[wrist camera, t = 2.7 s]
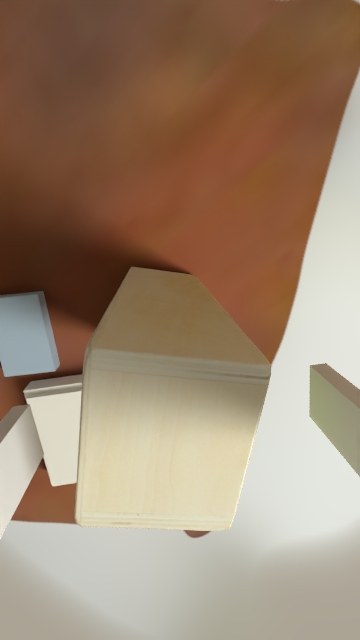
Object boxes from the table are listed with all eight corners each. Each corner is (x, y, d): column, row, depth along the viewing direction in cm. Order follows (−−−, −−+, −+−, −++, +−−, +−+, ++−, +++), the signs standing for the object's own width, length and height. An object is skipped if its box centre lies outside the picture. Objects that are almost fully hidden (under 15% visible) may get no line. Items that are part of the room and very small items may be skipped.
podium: (30, 381, 32) (19, 394, 30) (142, 365, 33) (141, 377, 30) (57, 471, 36) (49, 490, 33) (157, 456, 36) (157, 474, 34)
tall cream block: (191, 348, 33) (247, 536, 13) (122, 341, 32) (67, 529, 12) (203, 275, 31) (294, 363, 10) (130, 265, 30) (78, 339, 10)
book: (-7, 295, 30) (-18, 299, 28) (44, 290, 30) (37, 294, 28) (13, 368, 32) (4, 377, 30) (61, 362, 33) (55, 371, 31)
